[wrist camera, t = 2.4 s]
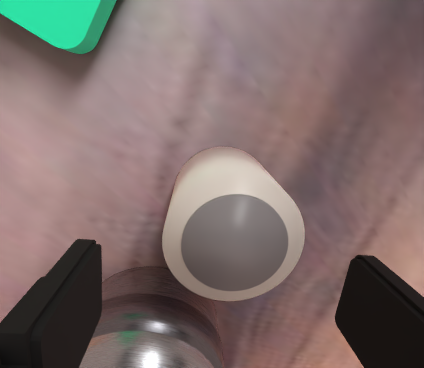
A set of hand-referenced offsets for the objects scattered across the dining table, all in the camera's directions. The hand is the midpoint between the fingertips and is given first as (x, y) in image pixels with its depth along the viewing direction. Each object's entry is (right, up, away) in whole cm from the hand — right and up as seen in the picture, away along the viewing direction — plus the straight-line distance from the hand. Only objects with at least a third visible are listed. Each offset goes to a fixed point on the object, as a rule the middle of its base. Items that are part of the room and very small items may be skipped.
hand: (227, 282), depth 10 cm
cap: (0, +3, +7) cm, 8 cm away
